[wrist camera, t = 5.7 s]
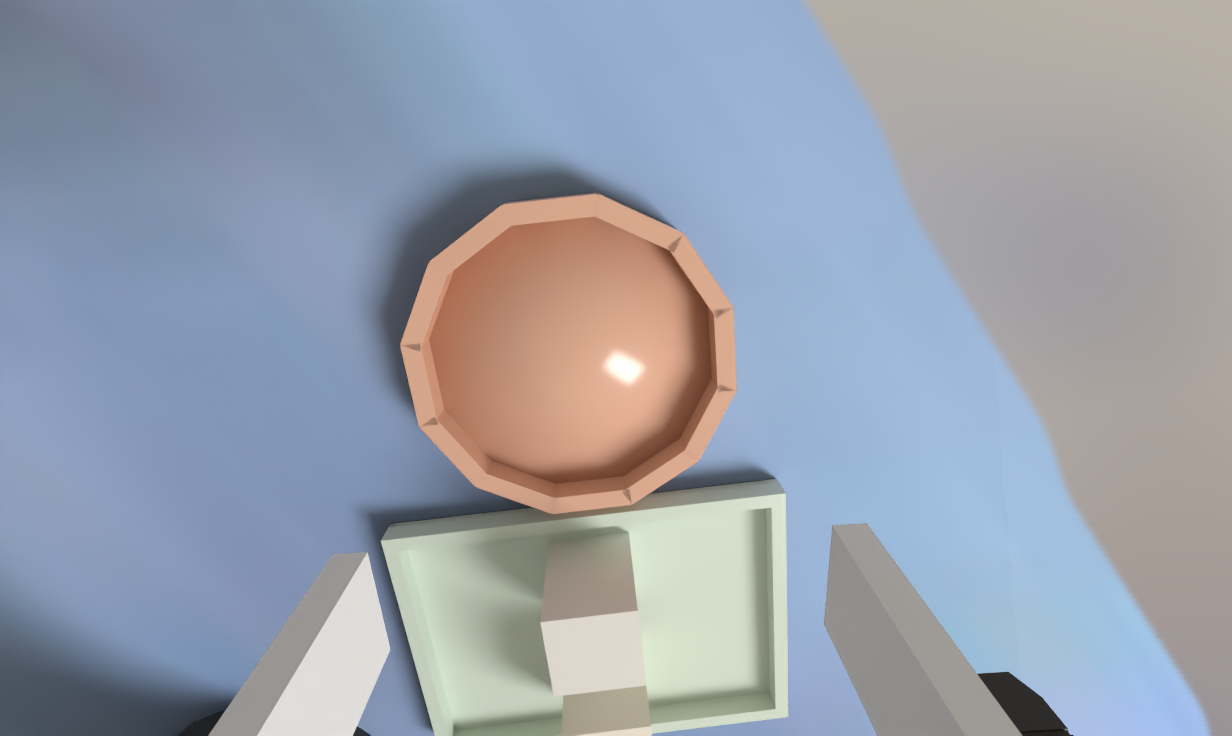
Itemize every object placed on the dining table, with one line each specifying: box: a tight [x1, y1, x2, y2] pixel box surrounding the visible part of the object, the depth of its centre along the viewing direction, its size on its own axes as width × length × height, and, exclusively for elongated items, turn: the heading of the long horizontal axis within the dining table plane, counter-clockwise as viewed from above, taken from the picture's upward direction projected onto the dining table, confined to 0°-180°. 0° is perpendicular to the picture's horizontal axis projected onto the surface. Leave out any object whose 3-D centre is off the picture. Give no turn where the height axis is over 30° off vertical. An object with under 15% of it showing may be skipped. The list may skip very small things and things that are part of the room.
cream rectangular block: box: [561, 686, 652, 736], centre depth 32 cm, size 4×4×6 cm
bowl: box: [400, 192, 737, 514], centre depth 28 cm, size 15×15×2 cm
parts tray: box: [381, 479, 788, 736], centre depth 33 cm, size 21×16×2 cm
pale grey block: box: [540, 532, 646, 697], centre depth 30 cm, size 4×4×6 cm
